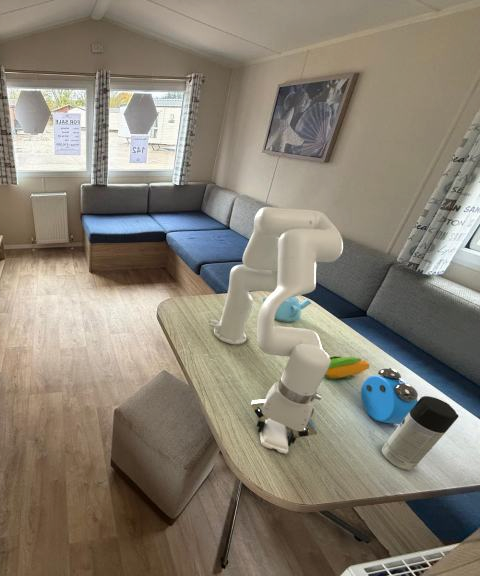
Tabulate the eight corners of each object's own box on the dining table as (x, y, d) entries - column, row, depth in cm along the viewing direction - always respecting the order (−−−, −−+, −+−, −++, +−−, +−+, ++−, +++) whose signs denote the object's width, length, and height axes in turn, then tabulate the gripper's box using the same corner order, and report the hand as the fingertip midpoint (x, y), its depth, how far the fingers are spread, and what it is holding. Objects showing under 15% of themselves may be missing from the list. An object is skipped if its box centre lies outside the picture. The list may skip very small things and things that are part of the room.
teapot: (299, 330, 132) (308, 307, 127) (257, 315, 142) (264, 293, 137) (306, 315, 143) (315, 294, 138) (266, 302, 153) (273, 282, 148)
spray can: (406, 451, 83) (447, 399, 74) (420, 475, 78) (467, 421, 68) (376, 443, 85) (413, 391, 76) (388, 466, 79) (429, 413, 70)
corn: (316, 353, 107) (363, 347, 110) (307, 369, 111) (353, 362, 114) (334, 369, 100) (383, 362, 104) (324, 385, 105) (372, 378, 108)
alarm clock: (403, 435, 88) (431, 397, 81) (379, 431, 88) (405, 394, 81) (374, 399, 99) (397, 364, 92) (353, 396, 100) (374, 361, 93)
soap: (259, 419, 90) (262, 412, 89) (285, 428, 88) (288, 421, 87) (260, 445, 83) (263, 438, 82) (288, 455, 81) (292, 448, 80)
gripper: (337, 395, 75) (310, 441, 84) (260, 366, 84) (243, 411, 92) (337, 417, 70) (309, 463, 79) (255, 383, 78) (238, 429, 87)
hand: (273, 434), depth 85 cm, fingers closed on soap, 6 cm apart
